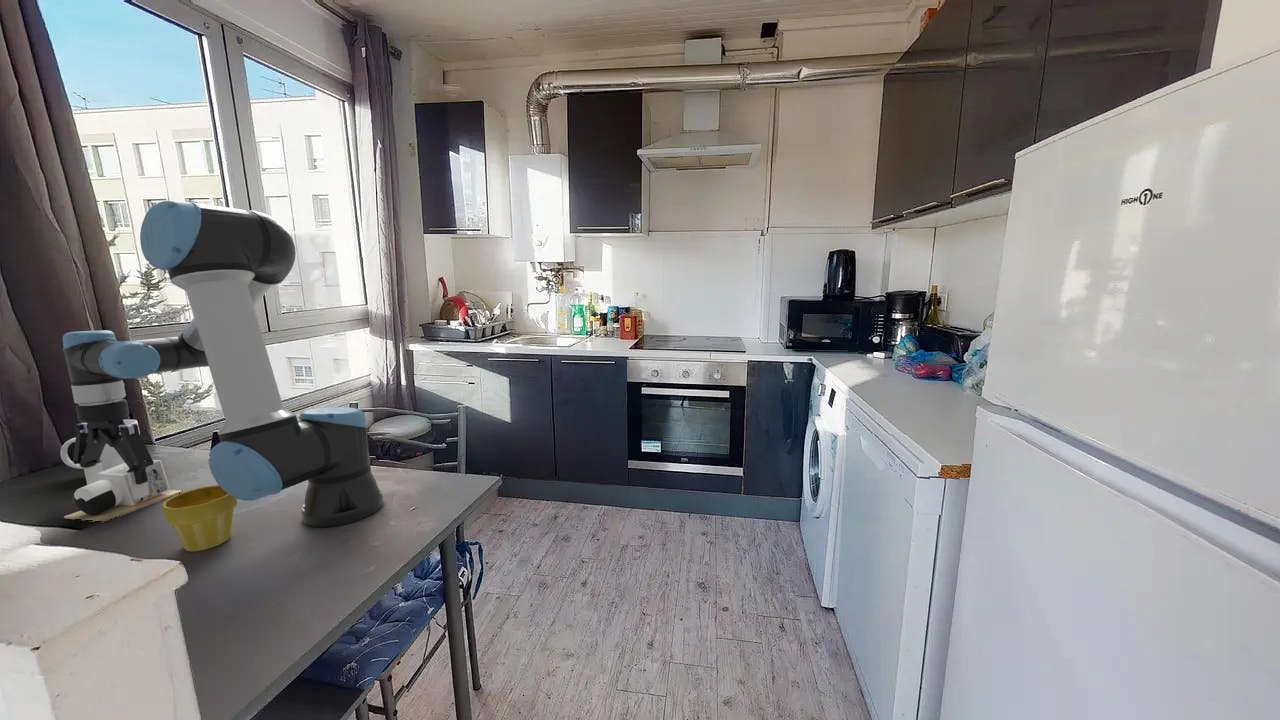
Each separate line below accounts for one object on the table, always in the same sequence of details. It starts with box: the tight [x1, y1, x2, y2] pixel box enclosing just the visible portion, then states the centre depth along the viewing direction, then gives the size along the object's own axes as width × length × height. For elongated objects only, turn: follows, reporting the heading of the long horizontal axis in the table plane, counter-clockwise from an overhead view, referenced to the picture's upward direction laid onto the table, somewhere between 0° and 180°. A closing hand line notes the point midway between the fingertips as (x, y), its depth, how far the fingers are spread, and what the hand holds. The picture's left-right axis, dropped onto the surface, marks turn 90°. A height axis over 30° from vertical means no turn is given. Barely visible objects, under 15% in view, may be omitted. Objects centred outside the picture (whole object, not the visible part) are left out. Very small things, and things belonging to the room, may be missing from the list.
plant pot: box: [161, 484, 238, 553], centre depth 91 cm, size 10×10×10 cm
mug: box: [60, 419, 141, 471], centre depth 126 cm, size 15×11×13 cm
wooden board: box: [63, 488, 184, 523], centre depth 108 cm, size 11×15×1 cm
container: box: [73, 459, 171, 515], centre depth 107 cm, size 8×8×13 cm
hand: (119, 495), depth 107 cm, fingers open, 11 cm apart
